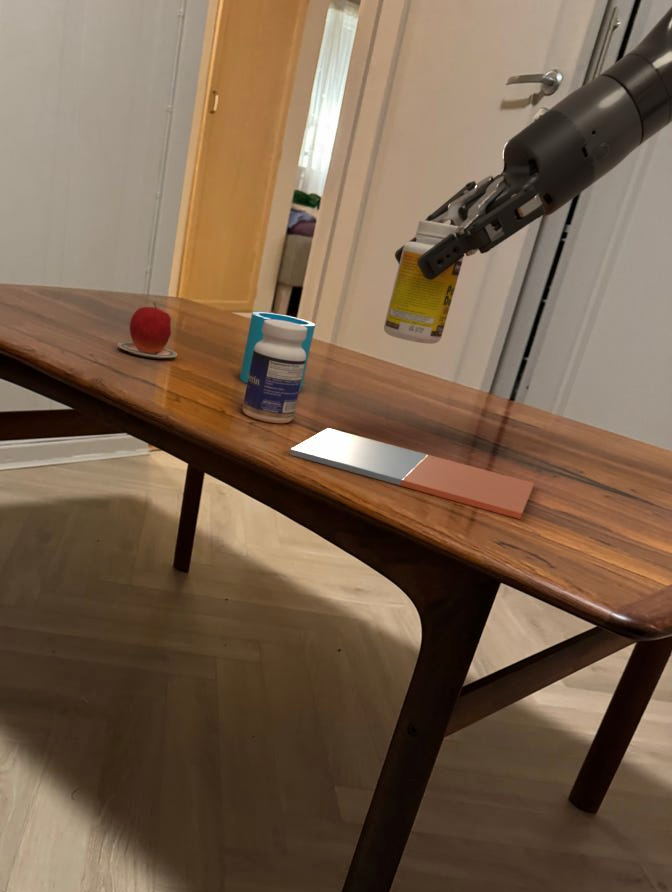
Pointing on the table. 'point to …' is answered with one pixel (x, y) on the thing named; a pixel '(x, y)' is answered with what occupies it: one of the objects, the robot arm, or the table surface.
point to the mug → (257, 335)
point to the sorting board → (417, 471)
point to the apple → (149, 333)
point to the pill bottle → (276, 372)
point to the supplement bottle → (421, 290)
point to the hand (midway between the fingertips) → (411, 266)
